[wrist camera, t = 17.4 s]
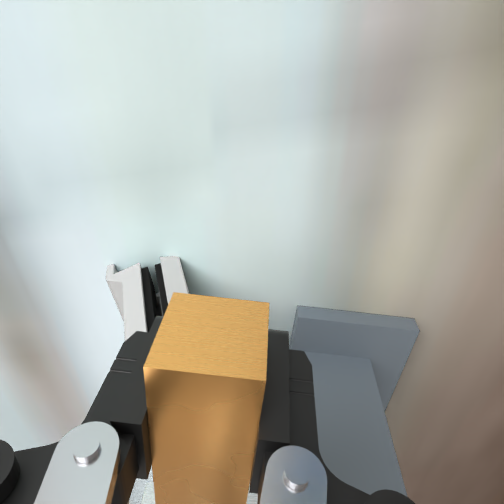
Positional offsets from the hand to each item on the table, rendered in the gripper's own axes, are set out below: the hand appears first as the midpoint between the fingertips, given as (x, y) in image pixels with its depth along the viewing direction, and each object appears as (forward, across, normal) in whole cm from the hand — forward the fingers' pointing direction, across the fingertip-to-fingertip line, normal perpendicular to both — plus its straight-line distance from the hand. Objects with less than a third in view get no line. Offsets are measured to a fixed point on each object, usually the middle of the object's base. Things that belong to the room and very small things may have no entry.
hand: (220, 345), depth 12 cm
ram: (+1, 0, +8) cm, 8 cm away
